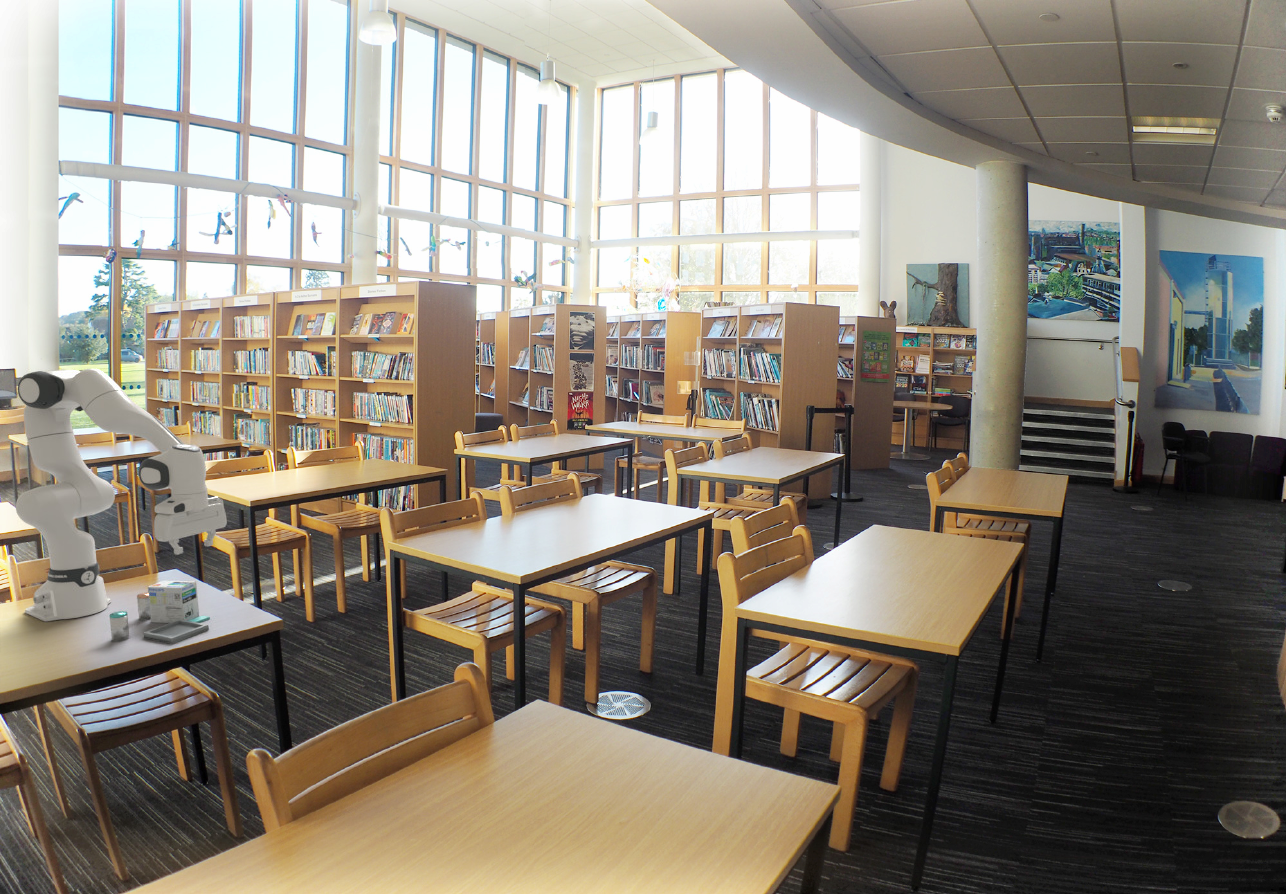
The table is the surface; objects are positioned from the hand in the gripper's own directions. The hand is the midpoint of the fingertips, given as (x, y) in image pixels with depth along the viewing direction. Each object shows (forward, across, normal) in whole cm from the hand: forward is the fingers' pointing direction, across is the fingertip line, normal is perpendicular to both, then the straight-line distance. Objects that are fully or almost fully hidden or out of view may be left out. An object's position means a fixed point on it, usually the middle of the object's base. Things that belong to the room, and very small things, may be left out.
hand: (194, 549), depth 223 cm
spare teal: (+21, +18, -8) cm, 29 cm away
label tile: (+21, 0, 0) cm, 21 cm away
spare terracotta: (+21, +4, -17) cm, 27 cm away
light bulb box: (+21, +2, -8) cm, 23 cm away
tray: (+21, +10, +3) cm, 23 cm away
